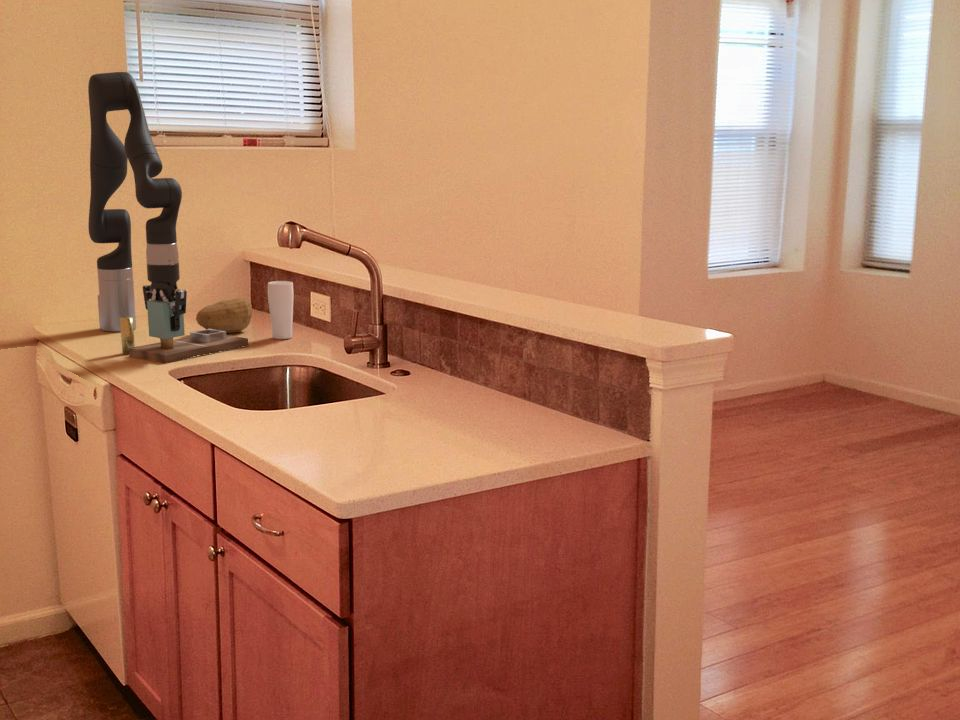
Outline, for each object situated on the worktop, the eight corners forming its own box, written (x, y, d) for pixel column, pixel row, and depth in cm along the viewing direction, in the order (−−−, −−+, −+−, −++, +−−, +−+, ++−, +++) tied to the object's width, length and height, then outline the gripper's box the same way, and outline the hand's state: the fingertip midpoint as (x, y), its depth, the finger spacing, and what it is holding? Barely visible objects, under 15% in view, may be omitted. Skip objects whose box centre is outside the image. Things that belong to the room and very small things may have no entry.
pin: (119, 353, 268) (117, 318, 267) (130, 351, 271) (127, 316, 269) (127, 355, 267) (125, 319, 265) (137, 353, 269) (135, 317, 267)
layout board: (129, 356, 266) (127, 324, 264) (212, 339, 286) (210, 310, 284) (166, 363, 258) (164, 330, 256) (248, 346, 278) (247, 315, 276)
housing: (149, 336, 265) (146, 300, 263) (168, 332, 270) (166, 297, 268) (164, 339, 262) (162, 303, 260) (184, 335, 266) (182, 300, 264)
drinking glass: (298, 336, 292) (296, 281, 289) (291, 340, 285) (289, 284, 282) (273, 335, 293) (271, 280, 289) (266, 340, 286) (264, 284, 283)
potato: (193, 332, 296) (191, 299, 294) (249, 328, 303) (247, 295, 301) (200, 338, 289) (198, 303, 287) (257, 333, 296) (256, 299, 294)
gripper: (131, 260, 263) (135, 328, 266) (169, 265, 254) (173, 335, 258) (156, 257, 269) (160, 323, 272) (194, 262, 260) (198, 330, 264)
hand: (166, 329), depth 265 cm, fingers closed on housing, 6 cm apart
